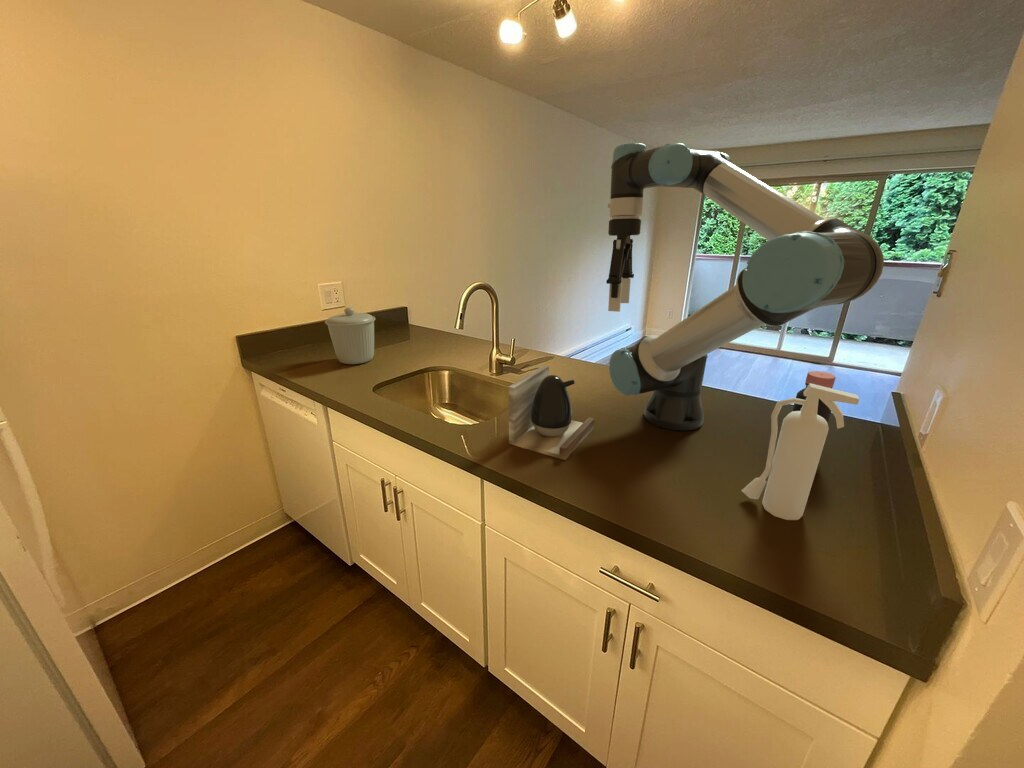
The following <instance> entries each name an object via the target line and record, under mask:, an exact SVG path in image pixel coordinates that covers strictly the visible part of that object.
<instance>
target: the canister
mask: <svg viewBox="0 0 1024 768" xmlns="http://www.w3.org/2000/svg"><path fill="white" fill-rule="evenodd" d="M343 311H344V313H338V314H334V315H332V316H330V317H328V319H326V320H325V321H324V323H325V324H326V325H327V328H328V331H329V332H328V333H329V335H330V339H331V342H332V346H333V349H334V353H335V355H336V358H337V360H338V361H339V363H341V364H343V365H345V364H346V365H359V364H364V363H367V362H370V361H372V359H373V357H374V355H375V321H376V317H375V315H372V314H369V313H365V312H355V309H354V308H353V307H349V306H348V307H346V308H344V310H343Z"/></svg>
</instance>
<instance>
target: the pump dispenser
mask: <svg viewBox="0 0 1024 768" xmlns="http://www.w3.org/2000/svg"><path fill="white" fill-rule="evenodd" d="M575 383H576V382H575V379H571V380H566V381H563V380H562V378H561V377H560V376H559V375H555V374H549V376H547V377H545V378H544V379H543V380H542V382H541V383H540V385H539V387H538V389H537V392H536V394H535V397H534V401H533V405H532V411H531V421H532V422H533V425H534V428H535V429H536V430H537V431H538V432H539V433H540V434H542V435H544V436H548V437H555V436H559V435H562V434H563V433H565V432H566V431H567V429H568V428H569V425H570V423H571V422H572V420H573V411H572V403H571V399H570V394H569V392H568V389H567V388H568V387H571V386H572V385H575Z"/></svg>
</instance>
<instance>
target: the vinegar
mask: <svg viewBox="0 0 1024 768" xmlns="http://www.w3.org/2000/svg"><path fill="white" fill-rule="evenodd" d="M835 381H836V376H835V374H832V373H829V372H825V371H818V370H811V371H808V372H807V375H806V377H805V388H803V389H801V390H799V391H798V392H797V393H796V395H795V398H797V399H804V400H806V398H807V396H804V393H803V392H804V390H805V389H806V388H807V386H808V385H809V383H811V384H815V385H819V386H823V387H827V388H831V389H833V387H834V385H835ZM802 406H803V405H801V404H795V403H793V407H792V411H801V408H802ZM792 411H791V412H792ZM831 414H832V412H831V410H830V409H829V407H828V406H827V405H826V404H824V403H823V402H822V401H821V400H820V399H819V401H818V411H817V415H819V416H821V417H823V418H824V419H825V420H826V421H827V424H828V425H829V422H830V417H831Z"/></svg>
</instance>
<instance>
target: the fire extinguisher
mask: <svg viewBox="0 0 1024 768" xmlns="http://www.w3.org/2000/svg"><path fill="white" fill-rule="evenodd" d="M805 388H806V387H805ZM803 393H804V396H807V398H806V400H804V399H797V398H796V397H791V398H787V399H783V400H780V401H779V400H778V401H777V402H776V403H775V406H774V408H773V410H772V412H771V415H770V419H771V421H770V422H771V423H770V424H771V425H770V426H771V427H770V430H771V433H770V437H769V444H768V451H767V457H766V464H765V467H764V471H763V472H762V473H761V475H760V476H759V477H755V478H753V480H751V481H750V482H749V483H748V484H747V485H746V486H744V487H743V488H742V489H741V492H742V493H744V495H745V496H746V497H748V498H749V499H751V500H759V498H760V497H761V495H762V492H763V491H764V494H763V497H762V500H761V501H762V502H761V505H762V506H763V509H764V510H765V511H766V512H768V513H769V514H771V515H772V516H773V517H777V518H779V519H783V520H785V521H798V520H800V519H801V518H802V517H803V516H804V512H805V509H806V506H807V503H808V499H809V496H810V492H811V488H812V486H813V482H814V480H815V477H816V473H817V470H818V466H819V463H820V461H821V460H820V459H821V456H822V452H823V449H824V445H825V443H826V440H827V436H828V433H829V430H830V429H829V423H828V424H827V421H826V420H825V419H824V418H823V417H821V416H819V415H817V411H818V401H819V399H820V400H821V401H822V402H823V403H824V404H826V405H827V406H828V407H829V409H830V410H831V414H832V415H833V417H835V422H836V423H835V424H836V429H841V428H844V427H845V422H844V421H845V420H844V413H843V411H842V410H841V408H840V406H839V405H838V403H844V404H851V405H855V406H856V405H858V404H859V402H860V401H859V400H860V398H859V395H858V394H854V393H851V392H847V391H844V390H843V391H842V390H839V389H835V388H832V389H831V388H827V387H823V386H819V385H815V384H811V383H809V385H808V386H807V388H806V389H805V390H804V392H803ZM836 402H837V403H836ZM794 403H795V404H801V405H803V406H802V408H801V411H791V412H789V413H788V414H787V415H786V416H785V417H784V418H783V419H782V423H781V427H780V432H779V430H778V429H779V428H778V416H779V414H780V411H781V409H782V407H783V406H786V405H791V404H794ZM778 433H779V435H778ZM777 437H778V438H777ZM767 478H768V479H767ZM766 479H767V480H766ZM764 488H765V490H764Z"/></svg>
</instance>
